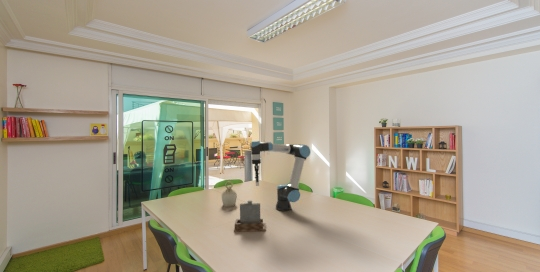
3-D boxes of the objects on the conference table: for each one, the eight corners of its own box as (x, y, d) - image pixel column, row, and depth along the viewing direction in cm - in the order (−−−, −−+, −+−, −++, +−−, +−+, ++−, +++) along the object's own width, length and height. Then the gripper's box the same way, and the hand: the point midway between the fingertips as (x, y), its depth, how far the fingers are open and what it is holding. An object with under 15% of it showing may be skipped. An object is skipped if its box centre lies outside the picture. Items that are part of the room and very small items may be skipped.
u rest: (265, 224, 189) (265, 218, 189) (265, 231, 177) (265, 223, 177) (235, 225, 188) (235, 218, 188) (233, 231, 176) (233, 224, 176)
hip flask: (260, 225, 184) (260, 199, 184) (260, 227, 180) (260, 201, 180) (240, 225, 184) (239, 200, 184) (239, 227, 180) (239, 201, 180)
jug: (233, 207, 233) (233, 182, 232) (219, 207, 236) (218, 182, 235) (238, 203, 248) (238, 179, 247) (225, 202, 251) (224, 179, 250)
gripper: (251, 157, 210) (253, 180, 211) (251, 161, 186) (252, 187, 186) (260, 157, 211) (261, 180, 212) (260, 160, 186) (262, 187, 187)
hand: (257, 183), depth 199 cm, fingers open, 13 cm apart
